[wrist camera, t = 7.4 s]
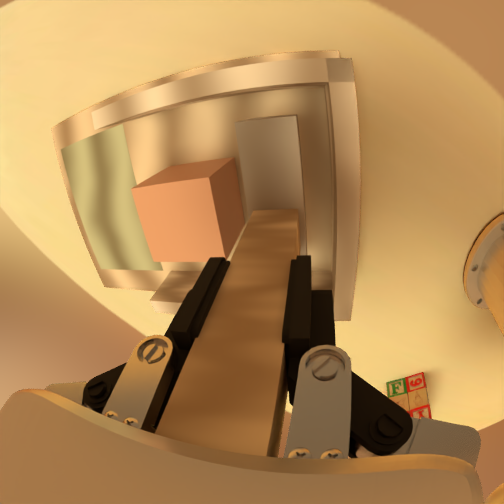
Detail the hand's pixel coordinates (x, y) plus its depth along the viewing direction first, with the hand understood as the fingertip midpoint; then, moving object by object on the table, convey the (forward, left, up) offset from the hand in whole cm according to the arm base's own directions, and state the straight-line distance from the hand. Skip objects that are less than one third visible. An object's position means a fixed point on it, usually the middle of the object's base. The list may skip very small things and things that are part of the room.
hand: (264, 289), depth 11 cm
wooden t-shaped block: (0, 0, -8) cm, 8 cm away
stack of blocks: (-20, +39, -14) cm, 46 cm away
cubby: (+10, 0, -14) cm, 17 cm away
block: (+7, 0, -13) cm, 15 cm away
